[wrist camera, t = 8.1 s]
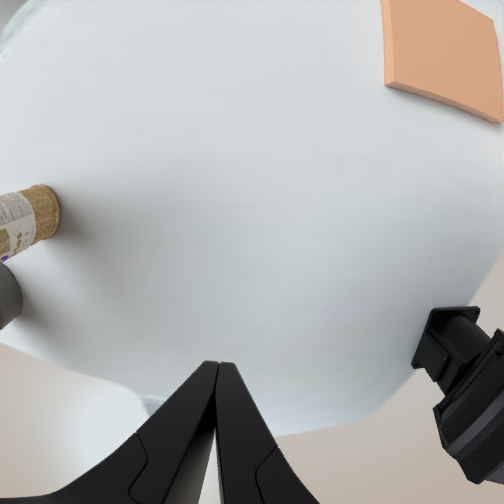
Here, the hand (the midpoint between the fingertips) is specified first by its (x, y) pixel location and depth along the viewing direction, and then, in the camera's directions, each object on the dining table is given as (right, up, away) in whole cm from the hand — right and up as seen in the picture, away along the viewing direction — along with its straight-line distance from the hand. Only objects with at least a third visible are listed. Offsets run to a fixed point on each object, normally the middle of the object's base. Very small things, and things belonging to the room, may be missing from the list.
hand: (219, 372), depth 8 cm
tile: (+16, +19, +7) cm, 26 cm away
